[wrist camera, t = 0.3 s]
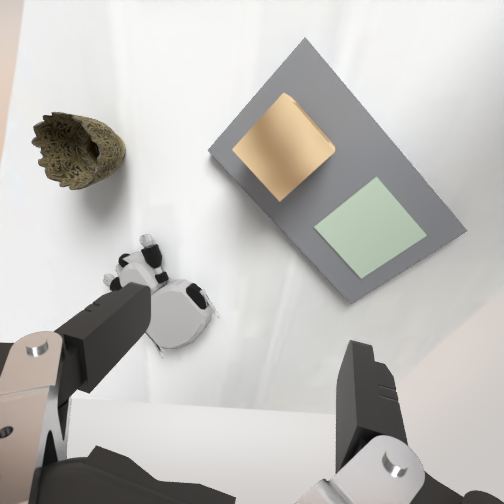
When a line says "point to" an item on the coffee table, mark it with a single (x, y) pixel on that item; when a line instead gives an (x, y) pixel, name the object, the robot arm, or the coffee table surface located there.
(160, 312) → the robot toy
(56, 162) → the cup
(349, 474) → the robot arm
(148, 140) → the coffee table surface
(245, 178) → the post board
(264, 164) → the cardboard box
